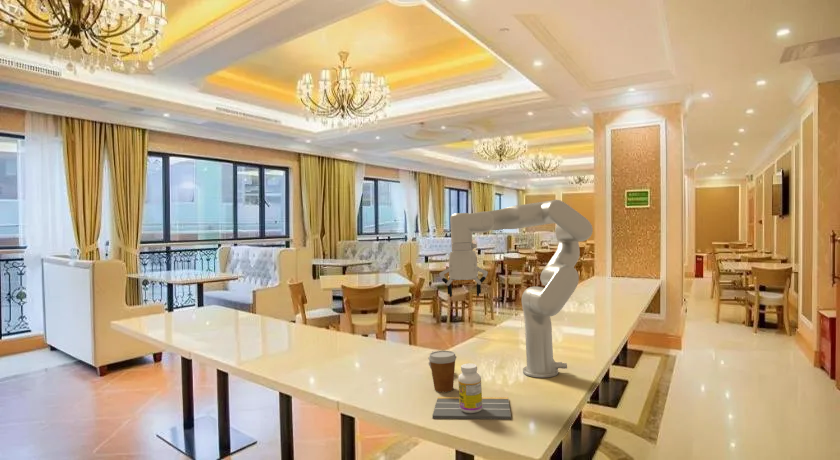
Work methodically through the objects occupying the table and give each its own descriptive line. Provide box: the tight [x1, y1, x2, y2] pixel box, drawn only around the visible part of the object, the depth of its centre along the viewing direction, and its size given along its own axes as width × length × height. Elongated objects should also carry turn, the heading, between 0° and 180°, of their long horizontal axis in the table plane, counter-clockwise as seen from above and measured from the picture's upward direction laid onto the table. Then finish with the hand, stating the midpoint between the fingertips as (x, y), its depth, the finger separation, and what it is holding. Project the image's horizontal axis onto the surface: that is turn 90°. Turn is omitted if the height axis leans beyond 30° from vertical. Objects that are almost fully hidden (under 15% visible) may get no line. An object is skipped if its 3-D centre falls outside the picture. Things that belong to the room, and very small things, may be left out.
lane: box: [432, 396, 512, 420], centre depth 134 cm, size 22×15×1 cm
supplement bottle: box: [458, 362, 483, 413], centre depth 131 cm, size 7×7×13 cm
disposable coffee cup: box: [427, 350, 457, 393], centre depth 153 cm, size 10×10×12 cm
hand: (464, 295), depth 160 cm, fingers open, 9 cm apart
